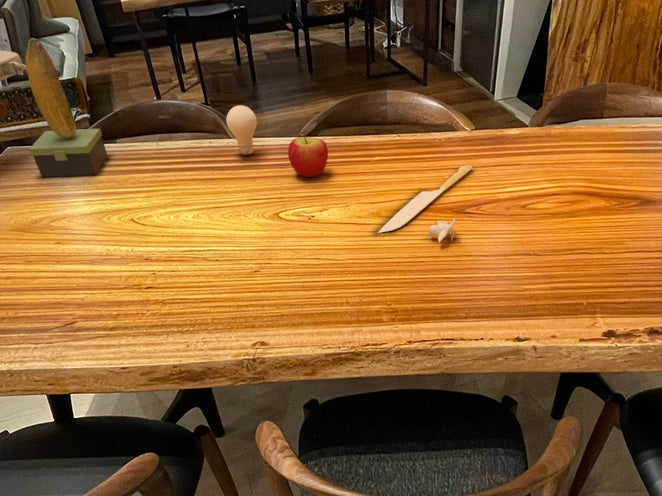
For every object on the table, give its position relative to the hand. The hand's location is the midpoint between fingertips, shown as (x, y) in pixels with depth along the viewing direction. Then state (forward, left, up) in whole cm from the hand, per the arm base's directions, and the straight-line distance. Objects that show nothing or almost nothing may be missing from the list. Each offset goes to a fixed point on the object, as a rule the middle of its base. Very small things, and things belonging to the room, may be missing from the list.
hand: (9, 76), depth 131 cm
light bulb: (+47, 0, -19) cm, 51 cm away
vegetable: (+8, -2, -13) cm, 15 cm away
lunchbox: (+8, -2, -19) cm, 21 cm away
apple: (+62, -12, -19) cm, 66 cm away
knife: (+86, -26, -19) cm, 92 cm away
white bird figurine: (+87, -42, -19) cm, 99 cm away
